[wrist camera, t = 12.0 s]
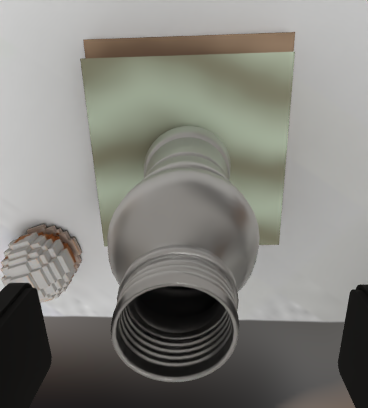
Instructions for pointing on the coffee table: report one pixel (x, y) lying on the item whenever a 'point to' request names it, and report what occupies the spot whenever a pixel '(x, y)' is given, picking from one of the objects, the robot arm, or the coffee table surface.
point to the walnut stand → (192, 110)
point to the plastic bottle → (181, 259)
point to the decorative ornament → (42, 261)
